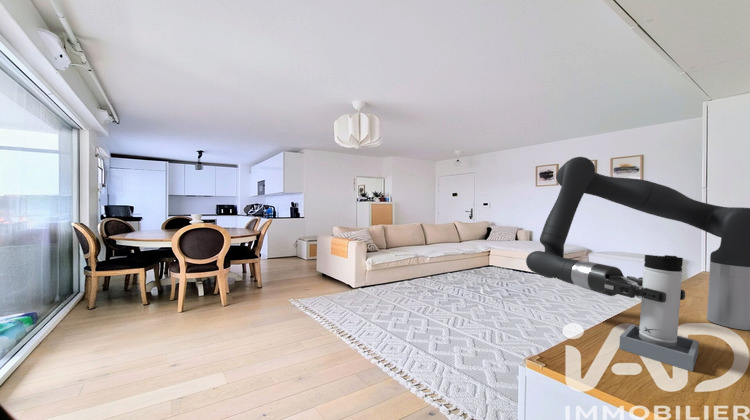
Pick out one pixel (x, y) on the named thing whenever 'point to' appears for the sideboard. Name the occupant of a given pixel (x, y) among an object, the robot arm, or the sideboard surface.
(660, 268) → the travel mug
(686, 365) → the tray
